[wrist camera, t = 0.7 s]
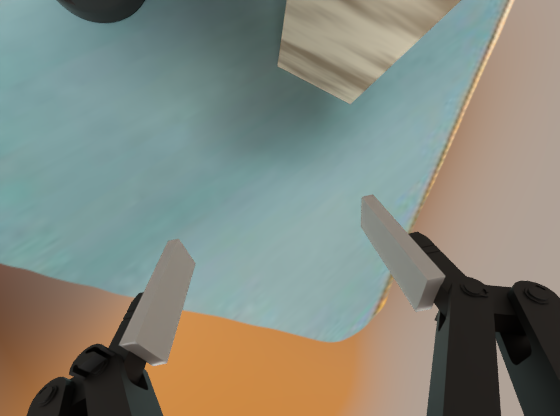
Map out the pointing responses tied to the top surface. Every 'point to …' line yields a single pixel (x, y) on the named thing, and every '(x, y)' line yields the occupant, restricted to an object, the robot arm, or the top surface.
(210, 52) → the top surface
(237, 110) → the top surface
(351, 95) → the pedestal
